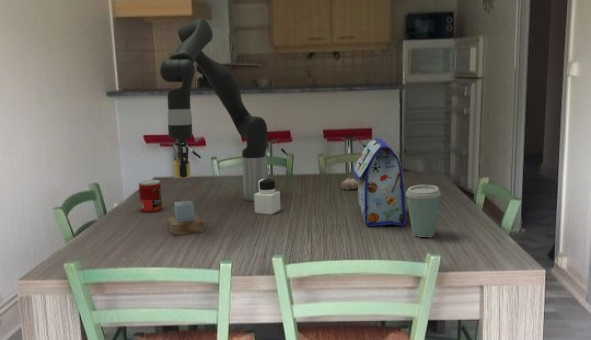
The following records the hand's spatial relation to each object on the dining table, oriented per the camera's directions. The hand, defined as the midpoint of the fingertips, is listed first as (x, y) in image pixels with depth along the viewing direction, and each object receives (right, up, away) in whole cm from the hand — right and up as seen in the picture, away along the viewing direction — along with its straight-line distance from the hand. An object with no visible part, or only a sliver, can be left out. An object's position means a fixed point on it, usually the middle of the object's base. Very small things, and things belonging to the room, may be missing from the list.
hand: (182, 175), depth 183 cm
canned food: (-18, -14, +30) cm, 38 cm away
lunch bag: (+66, -15, +11) cm, 68 cm away
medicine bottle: (+27, -14, +24) cm, 38 cm away
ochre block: (0, 0, 0) cm, 0 cm away
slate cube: (0, -14, +2) cm, 15 cm away
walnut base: (+1, -18, +2) cm, 18 cm away
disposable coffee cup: (+76, -18, -10) cm, 79 cm away
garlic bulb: (+60, -7, +58) cm, 84 cm away
